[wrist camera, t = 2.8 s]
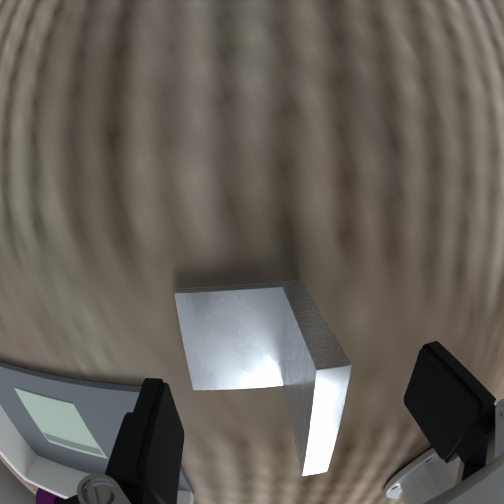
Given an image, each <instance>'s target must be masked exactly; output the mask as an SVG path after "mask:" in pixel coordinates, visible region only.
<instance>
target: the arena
mask: <svg viewBox="0 0 504 504" xmlns="http://www.w3.org/2000/svg"><path fill="white" fill-rule="evenodd" d="M141 387H142V386H130V385H119V384H110V383H101V382H94V381H87V380H80V379H74V378H68V377H62V376H57V375H52V374H47V373H42V372H38V371H33V370H29V369H25V368H21V367H17V366H14V365H10V364H6V363H3V362H0V455H1V456H2V457H3V458H4V459H5V460H6V461H7V462H8V464H9V465H10V466H11V467H12V468H13V469H14V470H15V471H16V472H17V473H18V474H19V475H20V476H21V477H22V478H23V479H24V480H25V481H27V482H29V483H31V484H33V485H35V486H37V487H39V488H41V489H44V490H46V491H48V492H50V493H52V494H55V495H57V496H59V497H62V498H64V499H67V498H69V497H72V496H74V495H77V487H78V484H79V482H80V481H81V480H82V479H83V478H84V477H86V476H88V475H91V474H104V475H105V471H106V468H107V465H108V462H109V459H110V456H111V453H112V450H113V447H114V444H115V441H116V438H117V435H118V432H119V429H120V426H121V424H122V421H123V418H124V416H125V414H126V413H127V412H133V410H134V407H135V404H136V401H137V399H138V396H139V393H140V390H141ZM193 500H194V490H193V488H192V486H191V484H190V482H189V480H188V478H187V476H186V474H185V472H184V470H183V468H182V466H181V468H180V477H179V486H178V496H177V504H193Z"/></svg>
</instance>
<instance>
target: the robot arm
mask: <svg viewBox="0 0 504 504" xmlns="http://www.w3.org/2000/svg"><path fill="white" fill-rule="evenodd" d="M495 400H496V398H495V397H494V396H493V395H492V394H491V393H490V392H489V391H488V390H487V389H486V388H485V387H484V386H483V385H482V384H481V383H480V382H479V381H478V380H477V379H476V378H475V377H474V376H473V375H472V374H471V373H470V372H469V371H468V370H467V369H466V368H465V367H464V366H463V365H462V364H461V363H460V362H459V361H458V360H457V359H456V358H455V357H454V356H453V355H452V354H451V353H450V352H449V351H448V350H446V349H445V348H444V347H443V346H442V345H441V344H440V343H439V342H437V341H434V342H431V343H428V344H425V345H423V347H422V349H421V350H420V351H419V354H418V357H417V361H416V364H415V367H414V370H413V373H412V376H411V379H410V382H409V385H408V388H407V390H406V393H405V396H404V404H405V406H406V407H407V409H408V410H409V411H410V413H411V414H412V416H413V417H414V419H415V421H416V422H417V424H418V425H419V427H420V428H421V430H422V431H423V433H424V434H425V436H426V437H427V439H428V440H429V442H430V444H431V445H432V447H433V448H431V449H430V450H428V451H426V452H425V453H423V454H422V455H421V456H419V457H418V458H416V459H415V460H413V461H412V462H411V463H409V464H408V465H407V466H405V467H404V468H403V469H402V470H400V471H399V472H398V473H397V474H396V475H395V476H394V477H393V478H392V479H391V480H390V481H389V482H388V483H387V485H386V487H385V489H384V491H385V494H386V496H387V497H388V498H400V497H401V498H402V501H403V503H404V504H504V399H501V400H500V401H499V402H498V403H497V404H496V406H495V405H494V402H495ZM183 444H184V429H183V426H182V424H181V421H180V418H179V415H178V412H177V409H176V406H175V403H174V400H173V397H172V394H171V391H170V388H169V385H168V383H164V382H163V380H162V379H156V378H146V379H145V380H144V382H143V385H142V387H141V390H140V393H139V396H138V399H137V401H136V404H135V407H134V410H133V412H127V413H126V414H125V416H124V418H123V421H122V424H121V426H120V429H119V432H118V435H117V438H116V441H115V444H114V447H113V450H112V453H111V456H110V459H109V462H108V465H107V468H106V471H105V475H104V474H91V475H88V476H86V477H84V478H83V479H82V480H81V481H80V482H79V484H78V487H77V495H74V496H72V497H69V498H67V499H64V500H62V501H59V502H57V503H54V504H177V496H178V486H179V477H180V468H181V460H182V452H183Z"/></svg>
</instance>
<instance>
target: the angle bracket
mask: <svg viewBox="0 0 504 504" xmlns="http://www.w3.org/2000/svg"><path fill="white" fill-rule="evenodd" d="M174 294H175V300H176V306H177V312H178V318H179V323H180V329H181V334H182V339H183V344H184V349H185V354H186V359H187V364H188V368H189V373H190V377H191V382H192V386H193V390H227V389H247V388H261V387H272V386H282V385H283V388H284V393H285V397H286V402H287V406H288V411H289V415H290V420H291V425H292V429H293V434H294V438H295V443H296V448H297V452H298V457H299V461H300V466H301V471H302V475H303V476H305V475H311V474H317V473H322V472H327V469H328V466H329V462H330V459H331V455H332V452H333V448H334V445H335V441H336V437H337V433H338V429H339V425H340V420H341V416H342V412H343V407H344V402H345V398H346V393H347V387H348V382H349V377H350V371H351V363H350V361H349V360H348V358H347V356H346V355H345V353H344V351H343V349H342V348H341V346H340V344H339V343H338V341H337V339H336V338H335V336H334V334H333V333H332V331H331V329H330V328H329V326H328V324H327V323H326V321H325V319H324V318H323V316H322V314H321V313H320V311H319V309H318V308H317V306H316V304H315V303H314V301H313V299H312V298H311V296H310V294H309V293H308V291H307V290H306V288H305V286H304V285H303V283H302V281H301V280H289V281H276V282H262V283H247V284H231V285H214V286H195V287H178V288H177V289H176V291H175V293H174Z"/></svg>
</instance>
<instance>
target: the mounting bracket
mask: <svg viewBox="0 0 504 504" xmlns="http://www.w3.org/2000/svg"><path fill="white" fill-rule="evenodd" d="M62 500H64V498H62V497H59V496H57V495H55V494H52V493H50V492H48V491H46V490H44V489H41V488H39V489H38V490H37V493H36V504H54V503H57V502H59V501H62Z"/></svg>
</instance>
